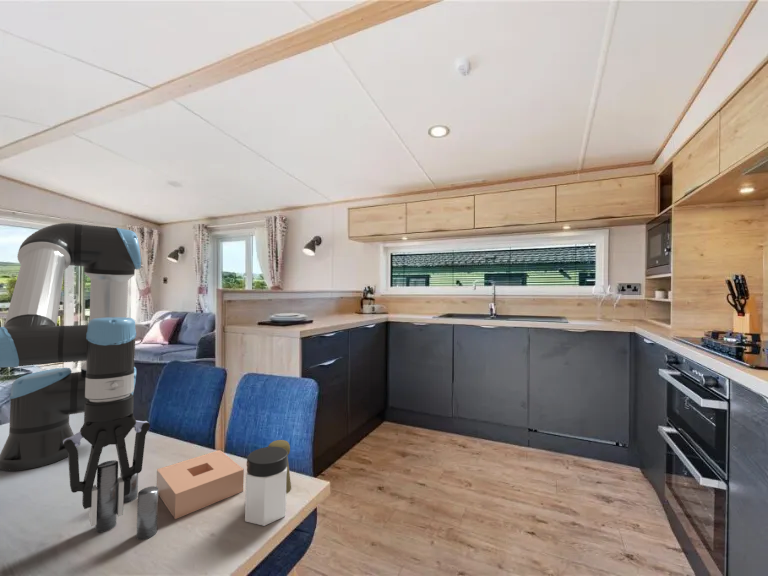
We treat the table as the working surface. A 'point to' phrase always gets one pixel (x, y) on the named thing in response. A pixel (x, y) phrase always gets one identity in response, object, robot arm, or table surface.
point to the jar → (266, 485)
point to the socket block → (199, 482)
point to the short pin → (132, 489)
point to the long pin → (106, 495)
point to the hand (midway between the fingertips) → (106, 517)
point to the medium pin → (147, 513)
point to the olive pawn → (286, 446)
